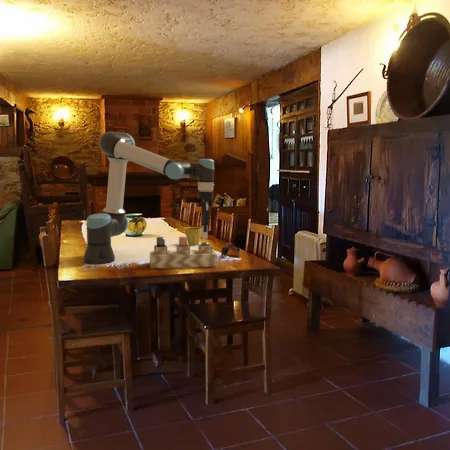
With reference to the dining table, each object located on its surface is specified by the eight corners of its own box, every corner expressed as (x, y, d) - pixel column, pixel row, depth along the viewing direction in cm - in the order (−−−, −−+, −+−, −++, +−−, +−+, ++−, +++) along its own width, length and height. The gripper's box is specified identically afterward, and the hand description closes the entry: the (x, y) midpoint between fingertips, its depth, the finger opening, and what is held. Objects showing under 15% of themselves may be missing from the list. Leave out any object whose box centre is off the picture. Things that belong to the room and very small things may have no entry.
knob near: (156, 247, 240) (156, 238, 240) (156, 245, 244) (156, 236, 244) (165, 247, 241) (165, 238, 241) (164, 245, 245) (164, 236, 244)
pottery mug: (224, 254, 275) (232, 241, 274) (236, 263, 271) (244, 251, 269) (213, 252, 265) (221, 239, 263) (226, 262, 260) (234, 249, 259)
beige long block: (151, 268, 237) (150, 248, 236) (149, 262, 249) (149, 243, 248) (216, 266, 244) (217, 247, 242) (212, 260, 255) (213, 242, 254)
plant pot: (182, 245, 296) (182, 229, 295) (187, 242, 306) (187, 226, 305) (199, 246, 294) (199, 229, 292) (204, 243, 304) (204, 227, 302)
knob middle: (179, 246, 243) (179, 237, 242) (178, 245, 246) (178, 236, 246) (187, 246, 243) (187, 237, 243) (186, 245, 247) (186, 236, 247)
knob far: (201, 252, 245) (201, 243, 245) (200, 250, 249) (200, 242, 248) (209, 252, 246) (209, 243, 245) (208, 250, 250) (208, 242, 249)
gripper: (215, 192, 237) (214, 240, 241) (211, 189, 250) (209, 235, 254) (200, 191, 236) (198, 240, 240) (196, 189, 249) (195, 235, 252)
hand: (204, 238), depth 247 cm, fingers closed
